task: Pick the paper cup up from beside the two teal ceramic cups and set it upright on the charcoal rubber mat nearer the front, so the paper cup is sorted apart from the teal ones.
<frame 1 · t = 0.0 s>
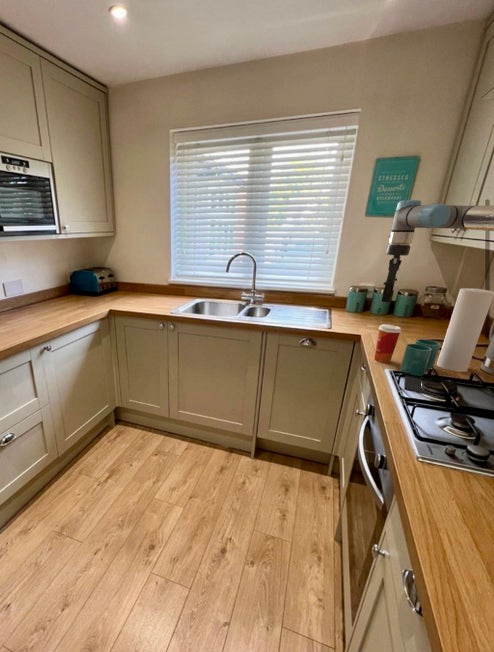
hand: (386, 299, 134), 23 cm above the countertop, tool pointing down, fingers open, 13 cm apart
teal cup a: (411, 372, 121), on the countertop
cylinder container: (451, 367, 127), on the countertop
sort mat: (425, 387, 110), on the countertop
teal cup b: (420, 366, 127), on the countertop
paper cup: (382, 360, 133), on the countertop
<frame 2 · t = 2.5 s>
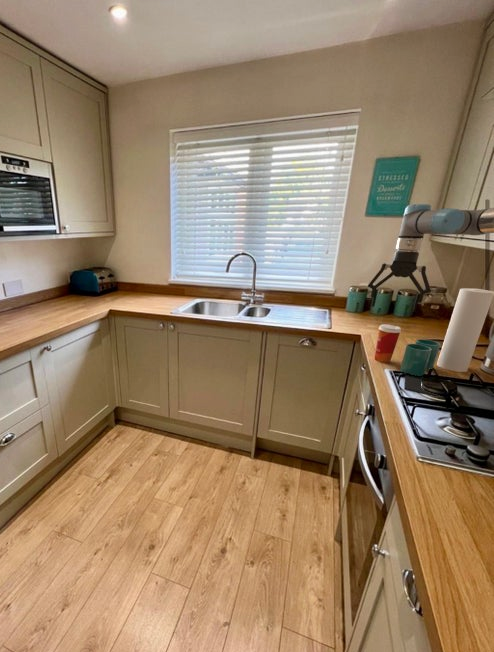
hand: (393, 308, 127), 21 cm above the countertop, tool pointing down, fingers open, 13 cm apart
nothing on the countertop moved.
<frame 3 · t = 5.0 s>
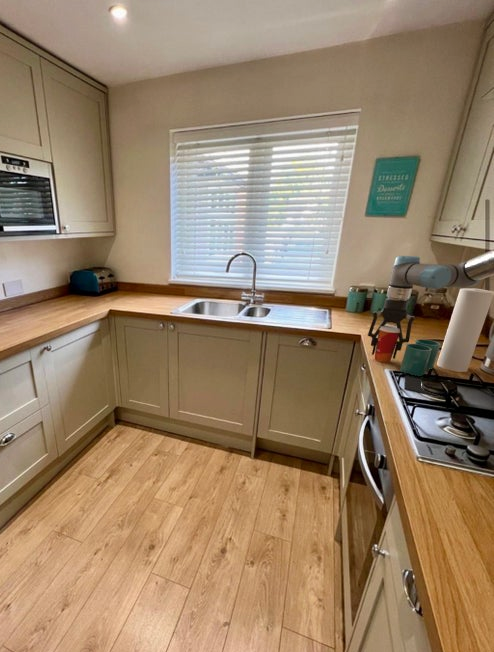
hand: (383, 355, 132), 2 cm above the countertop, tool pointing down, fingers closed on paper cup, 7 cm apart
paper cup: (382, 360, 133), on the countertop, touching gripper
everything else where it was.
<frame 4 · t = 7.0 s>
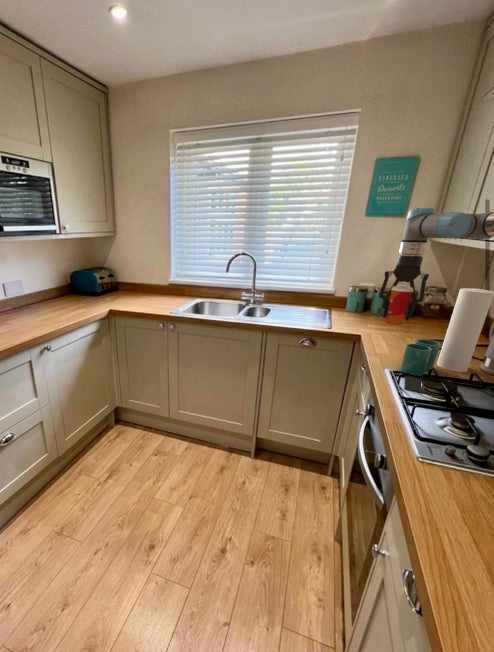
hand: (395, 318, 125), 18 cm above the countertop, tool pointing down, fingers closed on paper cup, 7 cm apart
paper cup: (394, 323, 126), point 16 cm above the countertop, touching gripper
everything else where it was.
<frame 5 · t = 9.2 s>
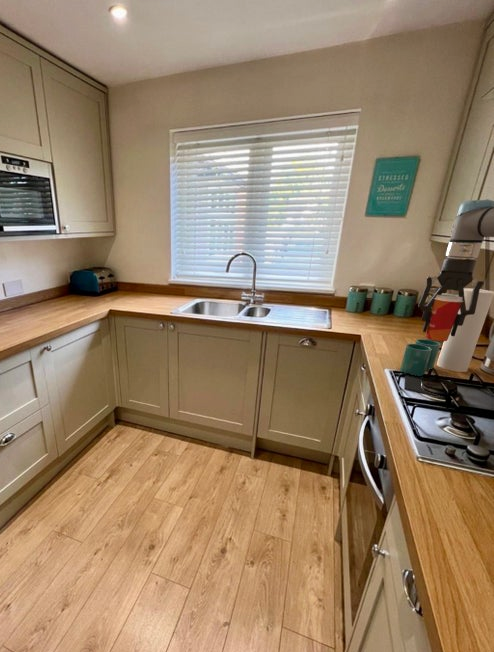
hand: (438, 333, 105), 18 cm above the countertop, tool pointing down, fingers closed on paper cup, 7 cm apart
paper cup: (436, 339, 106), point 16 cm above the countertop, touching gripper
everything else where it was.
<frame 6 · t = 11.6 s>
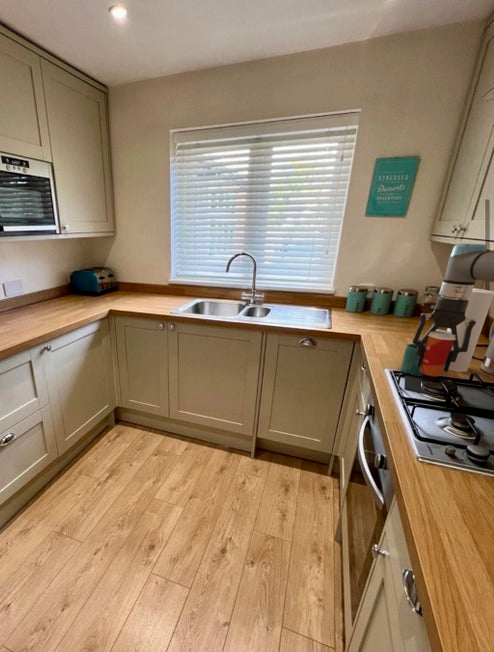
hand: (431, 367, 107), 7 cm above the countertop, tool pointing down, fingers closed on paper cup, 7 cm apart
paper cup: (429, 373, 108), point 5 cm above the countertop, touching gripper
everything else where it was.
when the fingers open (2 cm above the countertop, at t = 13.2 s): paper cup stays where it is, resting on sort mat.
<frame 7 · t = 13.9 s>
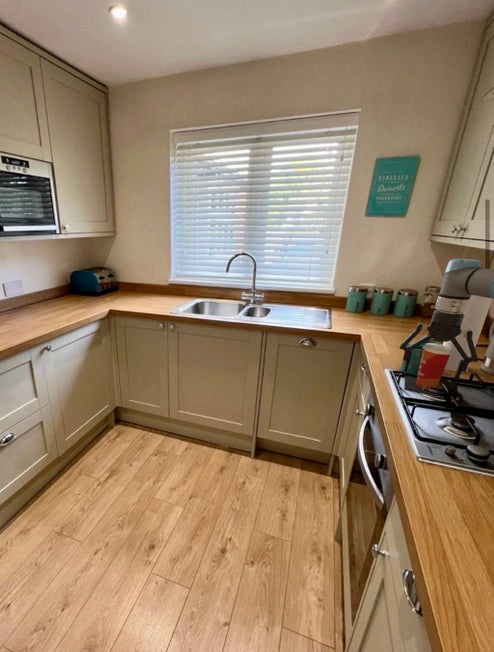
hand: (429, 374, 108), 5 cm above the countertop, tool pointing down, fingers open, 13 cm apart
paper cup: (425, 386, 110), resting on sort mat
everything else where it was.
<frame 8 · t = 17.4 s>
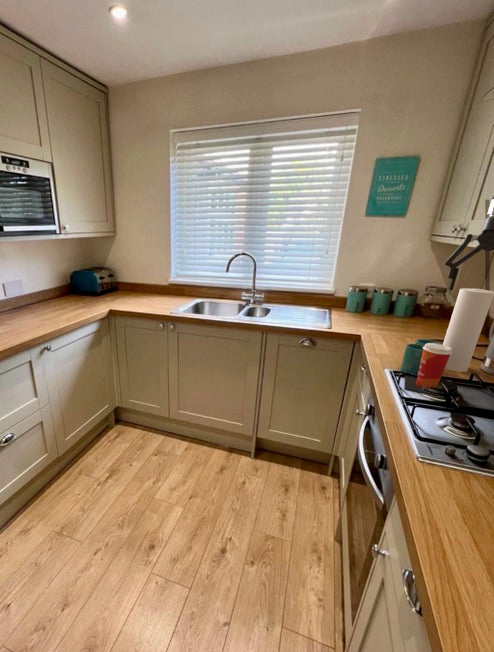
hand: (478, 292, 99), 32 cm above the countertop, tool pointing down, fingers open, 13 cm apart
nothing on the countertop moved.
at the end: paper cup inside the target area on the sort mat (0.1 cm from its centre), point 0.3 cm above the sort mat's base; paper cup tilted 0°; teal cup a moved 0.0 cm from its start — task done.
